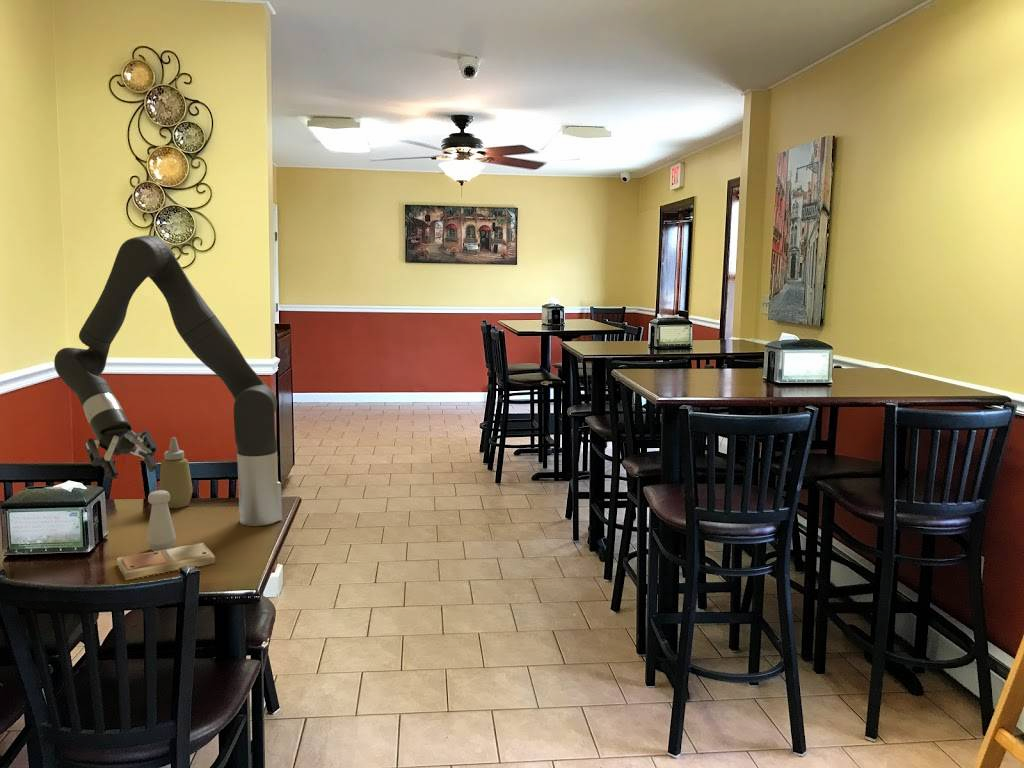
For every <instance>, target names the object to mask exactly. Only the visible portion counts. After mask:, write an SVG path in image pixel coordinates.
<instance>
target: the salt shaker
mask: <svg viewBox="0 0 1024 768" xmlns="http://www.w3.org/2000/svg"><path fill="white" fill-rule="evenodd" d="M169 500H170V494H169V492H167V491H164V490H159V489H158V490H154V491H151V492H150V493H149V494H148V497H147V501H148V503H149V504H151V511H150V516H149V522H148V529H147V534H146V543H147V544H148V546H149V547H150V549H151V552H152V551H159V550H165V549H170V548H174V547H173V546H174V545H175V542H176V541H175V540H176V536H177V535H176V532H175V527H174V525H173V521H172V520H173V519H172V516H171V512H170V508H169V507H168V503H167V502H169Z"/></svg>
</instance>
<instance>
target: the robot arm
mask: <svg viewBox="0 0 1024 768" xmlns="http://www.w3.org/2000/svg"><path fill="white" fill-rule="evenodd" d="M147 278H149V279H150V280H151V281H152V282H153V283H154V285H155V286H156V287H157V289H159V291H160V292H161V294H162V295H163V297H164V299H165V301H166V302H167V305H168V308H169V312H170V316H171V319H172V321H173V325H174V327H175V329H176V331H177V333H178V335H179V336H180V337H181V339H182V340H183V341H184V343H185V344H186V345H187V347H188V348H189V349H190V351H191V352H192V354H193V355H194V356H196V358H197V359H198V360H199V361H200V362H202V364H204V365H205V366H206V367H207V368H208V369H210V371H212V372H213V373H215V375H216V376H218V377H219V379H221V381H222V382H223V384H225V386H226V388H227V389H228V391H230V393H231V395H232V397H233V398H234V403H233V427H234V430H233V431H234V440H235V441H234V442H235V445H236V455H237V477H238V479H237V483H238V507H239V512H238V513H239V523H240V524H242V525H243V526H249V527H259V526H266V525H272V524H275V523H276V522H279V521H282V520H283V511H282V510H283V509H282V507H283V505H282V484H281V482H280V481H279V475H278V474H279V470H278V465H279V464H278V442H277V438H276V437H277V436H276V428H275V427H276V426H275V425H276V424H275V419H276V418H275V413H276V411H277V408H278V400H277V396H276V395H275V393H274V391H273V390H272V389H271V388H270V387H269V386H268V385H267V383H266V382H264V381H263V380H262V378H261V377H260V376H259V375H258V374H257V372H256V371H255V370H253V368H252V367H251V365H250V364H249V363H248V361H247V360H246V358H245V357H244V355H243V353H242V352H241V350H240V349H239V347H238V345H237V344H236V343H235V341H234V340H233V338H232V337H231V335H230V334H229V332H228V331H227V329H226V328H225V327H224V325H223V324H222V322H221V321H220V319H219V317H217V316H216V314H215V312H213V310H212V309H211V308H210V307H209V305H208V304H207V302H206V301H205V299H204V298H203V297H202V295H201V294H200V292H198V290H197V289H196V287H195V286H194V285H193V284H192V282H191V281H190V279H189V278H188V276H187V274H186V273H185V271H184V270H183V268H182V266H181V264H180V263H179V261H178V259H177V257H176V255H175V254H174V252H173V250H172V249H171V248H170V246H169V245H168V243H166V241H164V239H161V238H160V237H158V236H156V235H151V234H149V235H142V236H135V237H132V238H129V239H127V240H125V241H124V242H123V243H122V244H121V246H120V247H119V249H118V251H117V254H116V256H115V259H114V262H113V265H112V268H111V271H110V273H109V275H108V278H107V280H106V283H105V285H104V288H103V290H102V292H101V294H100V296H99V297H98V299H97V301H96V304H95V305H94V307H93V308H92V310H91V311H90V313H89V315H88V316H87V319H86V320H85V321H84V323H83V325H82V327H81V329H80V330H79V333H78V338H79V340H80V342H81V343H82V344H84V345H85V346H86V347H88V348H86V349H84V348H79V347H78V348H76V347H64V348H62V349H61V348H60V349H59V350H58V351H57V352H56V354H55V355H54V360H53V363H54V364H53V365H54V369H55V371H56V374H57V375H58V376H59V377H60V379H61V380H62V381H63V383H64V384H66V386H67V387H68V388H69V389H70V390H71V391H73V393H74V394H75V395H76V396H77V398H78V400H79V402H80V404H81V407H82V409H83V412H84V415H85V417H86V420H87V422H88V424H89V426H90V428H91V430H92V432H93V434H94V436H95V438H96V439H93V438H91V437H89V438H88V439H87V441H86V443H85V445H84V448H85V451H86V453H87V456H88V458H89V461H90V464H91V466H93V467H97V466H101V467H102V468H103V470H104V472H105V474H106V476H107V477H108V478H109V479H111V480H116V479H117V478H118V476H119V472H118V469H116V467H115V464H114V462H113V460H111V458H112V456H113V455H114V456H115V457H117V456H120V455H129V454H130V453H131V454H132V455H134V456H138V457H141V459H143V462H144V464H145V466H146V469H147V470H148V472H149V473H153V472H154V471H155V469H156V467H157V462H156V460H155V458H154V456H155V455H156V452H157V451H158V450H159V447H158V445H157V444H156V442H155V440H154V439H153V437H152V435H151V434H150V432H149V430H147V429H144V430H143V431H142V432H138V433H136V432H134V431H133V429H132V426H131V423H130V421H129V420H128V417H127V416H126V413H125V411H124V410H123V408H122V406H121V403H120V401H119V400H118V399H117V398H116V396H115V394H114V393H113V391H112V389H111V387H110V385H109V383H108V381H107V379H105V378H104V377H101V376H100V375H101V374H102V373H103V372H104V371H105V368H106V364H107V360H108V356H109V352H110V348H111V344H112V343H113V341H114V339H115V338H116V336H117V335H118V333H119V331H120V330H121V328H122V327H123V324H124V321H125V319H126V316H127V312H128V307H129V305H130V301H131V299H132V297H133V295H134V294H135V292H136V290H137V289H139V287H140V286H141V285H142V284H143V282H144V281H146V279H147ZM135 447H136V448H135ZM98 448H101V449H103V450H104V451H105V453H104V456H103V457H102V456H101V455H100V452H99V450H98Z"/></svg>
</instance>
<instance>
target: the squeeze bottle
mask: <svg viewBox="0 0 1024 768" xmlns="http://www.w3.org/2000/svg"><path fill="white" fill-rule="evenodd" d="M163 454H164V455H163V456H164V457H163V458H164V459H163V460H162V461H161V462H160V469H159V470H160V471H159V472H160V473H159V489H158V490H164V491H167V492H169V494H170V500H169V502H167V503H168V507H169V509H178V508H184V507H187V506H189V504H190V500H191V499H192V495H193V492H194V490H193V488H194V487H193V483H192V478H191V470H190V465H189V463H190V462H189V460H188V459H187V458H185V451H184V450H183V449H180V448H179V444H178V440H177V437H170V442H169V447H168V450H166V451H165V452H164V453H163Z"/></svg>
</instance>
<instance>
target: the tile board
mask: <svg viewBox="0 0 1024 768" xmlns="http://www.w3.org/2000/svg"><path fill="white" fill-rule="evenodd" d="M116 561H117V562H116V563H117V566H119V567H118V569H119V570H120V572H121V571H122V572H121V574H122V573H123V574H122V576H123V575H124V576H125V578H126V579H127V578H132V577H138V576H142V575H147V574H153V573H161V572H168V571H173V570H178V569H179V567H181V566H197V567H196V568H198V567H202V566H208V565H213V564H216V556H215V555H214V554H213V552H212V551H211V550H210V549H209V548H208V547H207V545H205V543H204V542H200V543H194V544H188V545H187V544H186V545H181V546H177V547H172V548H170V549H165V550H159V551H154V552H152V551H149V552H144V553H137V554H132V555H127V556H121V557H117V560H116ZM178 571H179V570H178ZM173 572H174V571H173ZM168 573H169V572H168ZM124 576H123V577H124ZM125 578H124V579H125Z"/></svg>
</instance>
